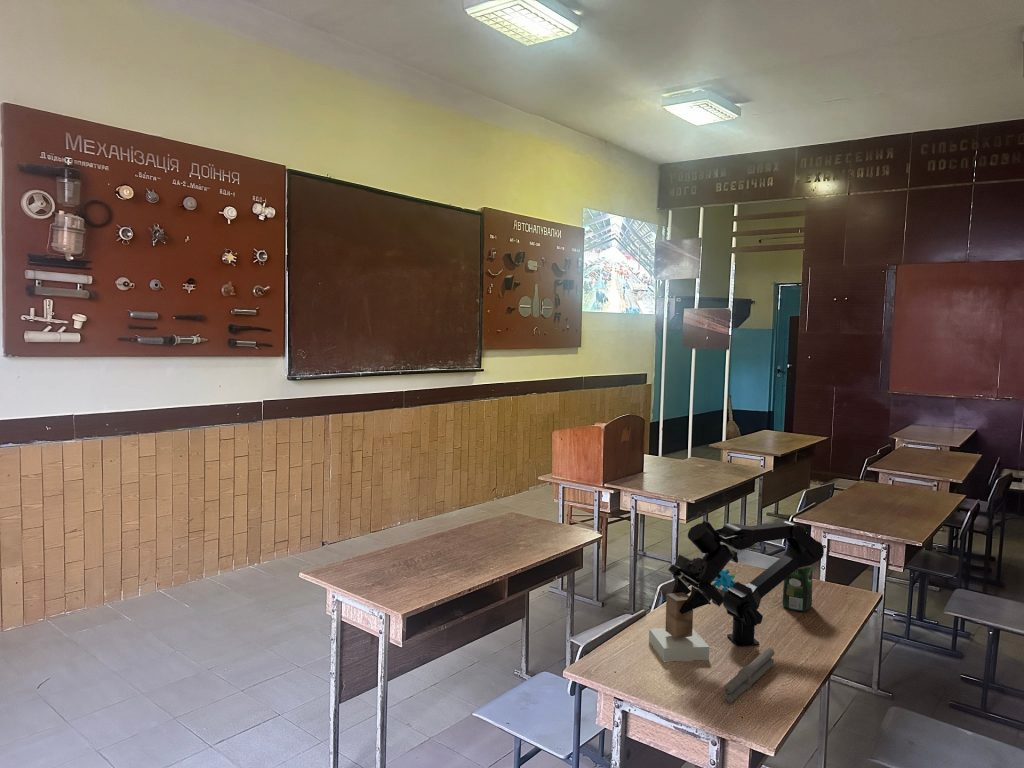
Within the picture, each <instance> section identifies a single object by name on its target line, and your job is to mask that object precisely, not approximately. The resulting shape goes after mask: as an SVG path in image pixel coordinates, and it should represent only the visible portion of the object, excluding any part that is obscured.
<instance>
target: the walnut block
mask: <svg viewBox="0 0 1024 768" xmlns="http://www.w3.org/2000/svg"><path fill="white" fill-rule="evenodd" d="M689 596H690V595H689V594H685V593H684V592H680V593H672V592H670V593H666V598H665V599H666V600H665V604H666V605H665V628H666V629H665V631H666V632H668V633H669V634H670V635H672V636H673V637H674V638H675V639H676V638H683V637H690V636H692V628H693V624H694V622H693V621H694V620H693V619H694V609H693V610H691V611H688V612H686V613H684V614H681V613H680V612H679V611H680V609H681V607H682V606H683V604H684V603H685V602H686V600H687V599H688V597H689ZM693 629H694V628H693Z"/></svg>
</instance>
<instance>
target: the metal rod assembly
mask: <svg viewBox="0 0 1024 768" xmlns="http://www.w3.org/2000/svg"><path fill="white" fill-rule="evenodd" d="M774 655H775V650H774V649H773V648H771V647H768V648H766V650H764V651H762V652H761V654H759V655H758V656H757V657H756V658H755V659H753V660H752V661H751V662H750V663H749V664H747V665H746V666H744V667H743V668H741V669H740V670H739V671H738V673H737V674H736V675H735V676H734V677H733V678H732V679H730V680H729V681H728V682H727V683H725V684H724V685H723V690H724V692H725V694H724V695H723V697H722V698H723V701H724V702H725V703H726V704H727V705H730V704H732V703H733V702H734V701H735V700H736V699H737V698H738V697H740V695H742V694H743V693H744V692H748V690H749V689H750V688H751V687H752V685H753V684H754V683H756V681H758V679H760V678H761V677H762V676H763V675H764V674H765V673H767V671H768V670H770V669H771V668H772V667H773V666H774V664H775V660H773V658H772V657H774ZM725 703H724V704H725Z"/></svg>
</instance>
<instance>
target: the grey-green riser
mask: <svg viewBox="0 0 1024 768" xmlns="http://www.w3.org/2000/svg"><path fill="white" fill-rule="evenodd" d="M665 629H666V627H663V628H660V627H659V628H649V629H648V642H650V643H649V644H650V646H651V647H652V646H653V647H652V648H653V649H654V651H655V650H656V651H657V652H656V651H655V652H656V654H657V653H658V654H659V655H658V654H657V655H658V656H659V658H660V657H661V658H662V659H663V661H682V662H694V661H693V660H705V661H710V645H708V643H706V641H705V640H704V639H703V638H702V637H701V636H700V634H699V633H697V631H696V630H695V629H694V628H692V636H690V637H683V638H676V639H675V638H674V637H673V636H672V635H670V634H669V633H668V632H666V631H665ZM661 658H660V659H661ZM662 659H661V660H662ZM663 661H662V662H663Z"/></svg>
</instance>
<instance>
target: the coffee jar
mask: <svg viewBox="0 0 1024 768" xmlns="http://www.w3.org/2000/svg"><path fill="white" fill-rule="evenodd" d="M786 551H787V549H785V551H784V554H783V556H784V555H785V554H786ZM813 567H814V564H812V565H810V566H805V567H801V568H798V569H797V570H796V571H795V572H793V573H792V574H791V575H790V576H788V577H787V578H786V579H785V580H783V587H782V588H783V589H782V603H781V604H782V606H783V607H784V608H786V609H788V610H790V611H794V612H806V611H808V610H810V608H811V607H812V604H813V571H814V568H813Z"/></svg>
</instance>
